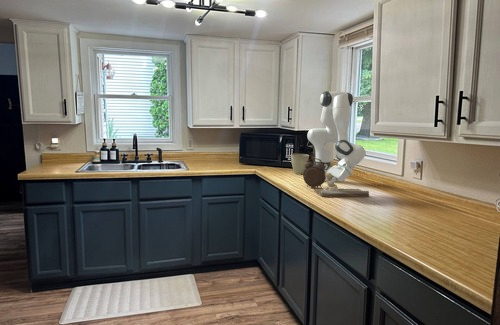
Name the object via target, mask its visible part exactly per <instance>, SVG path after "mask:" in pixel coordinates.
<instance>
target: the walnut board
mask: <svg viewBox="0 0 500 325" xmlns="http://www.w3.org/2000/svg"><path fill="white" fill-rule="evenodd" d="M313 192H314V194H317V195H319V196H320V197H321V198H369V197H370V191H369V190H361V189H360V188H338V190H337V191H327V189H326V188H313Z"/></svg>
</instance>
